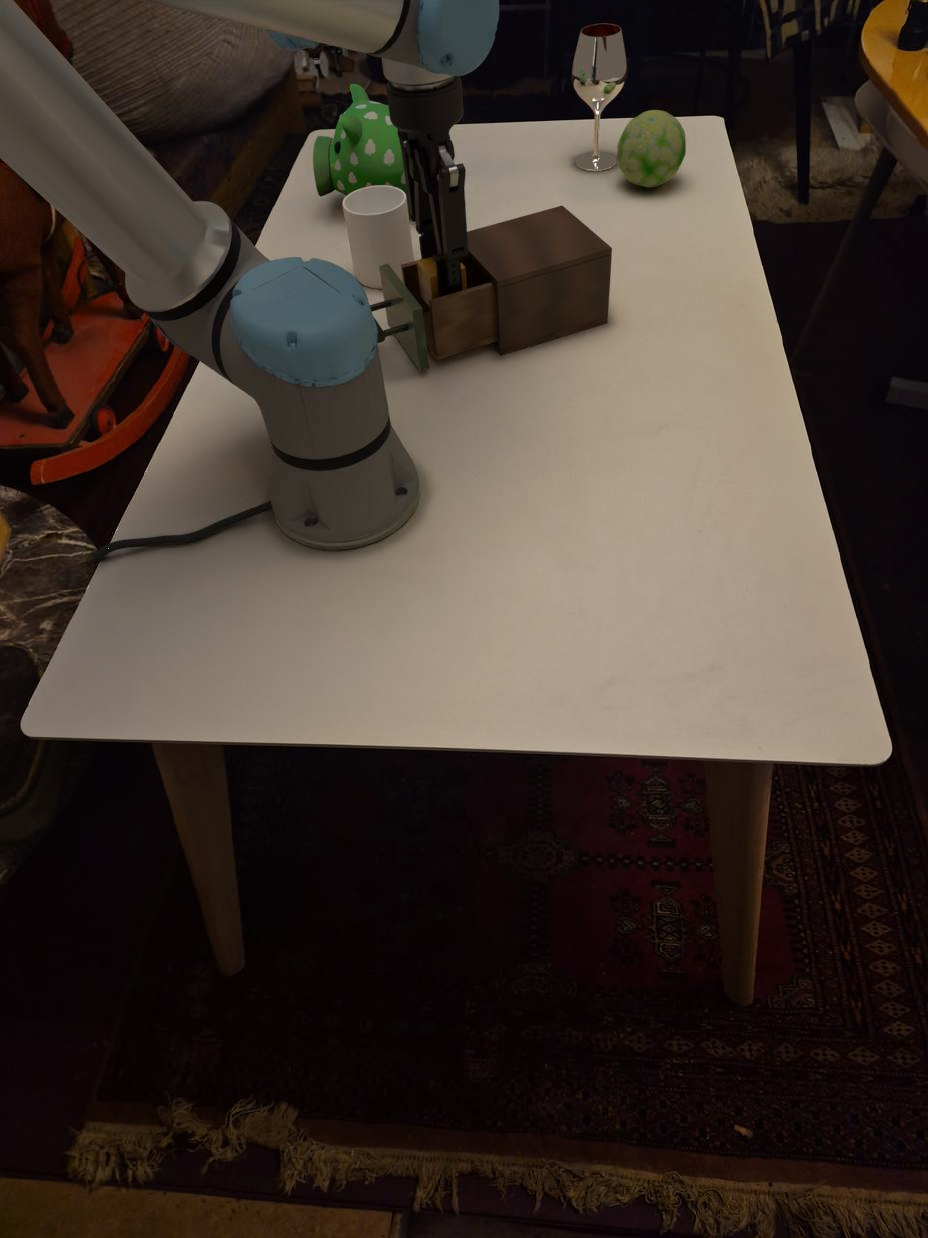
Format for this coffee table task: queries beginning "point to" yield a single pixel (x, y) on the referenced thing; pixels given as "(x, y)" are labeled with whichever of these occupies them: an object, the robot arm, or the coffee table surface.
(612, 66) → the wineglass
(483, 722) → the coffee table surface
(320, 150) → the piggy bank
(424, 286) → the block
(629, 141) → the decorative ball
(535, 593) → the coffee table surface
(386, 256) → the cup
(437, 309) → the drawer
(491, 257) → the cabinet
